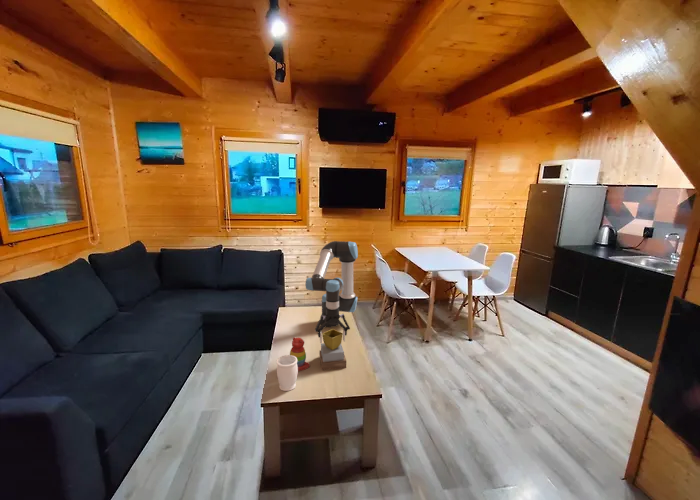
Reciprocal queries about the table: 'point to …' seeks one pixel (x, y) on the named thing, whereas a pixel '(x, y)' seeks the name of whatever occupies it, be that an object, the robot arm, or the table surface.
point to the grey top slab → (332, 353)
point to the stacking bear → (299, 353)
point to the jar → (287, 372)
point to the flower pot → (332, 339)
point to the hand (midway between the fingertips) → (332, 341)
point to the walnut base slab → (332, 364)
